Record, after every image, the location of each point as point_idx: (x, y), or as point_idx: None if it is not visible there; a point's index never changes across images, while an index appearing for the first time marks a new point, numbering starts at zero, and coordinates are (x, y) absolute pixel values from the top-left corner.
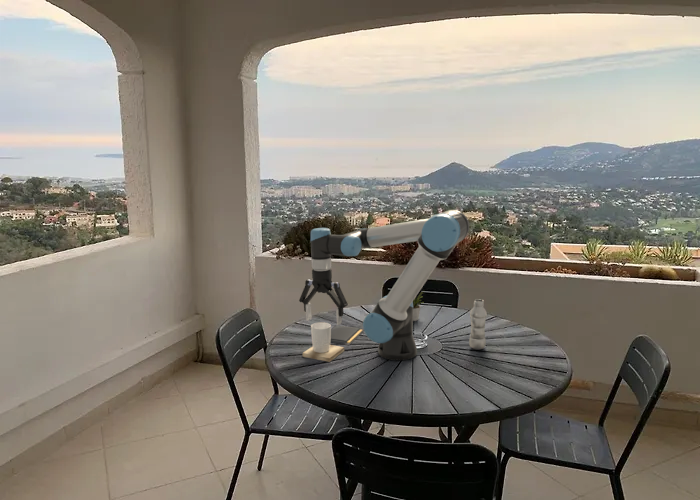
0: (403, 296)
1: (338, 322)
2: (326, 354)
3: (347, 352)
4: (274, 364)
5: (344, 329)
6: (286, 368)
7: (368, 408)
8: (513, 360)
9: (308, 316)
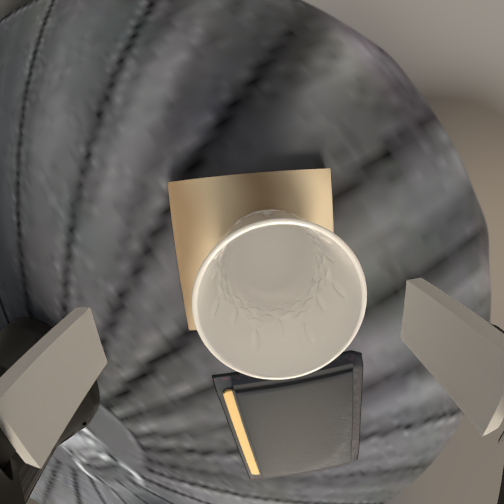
0: None
1: (64, 319)
2: (208, 213)
3: (170, 314)
4: (373, 49)
5: (303, 455)
6: (304, 35)
7: None
8: None
9: (424, 307)
